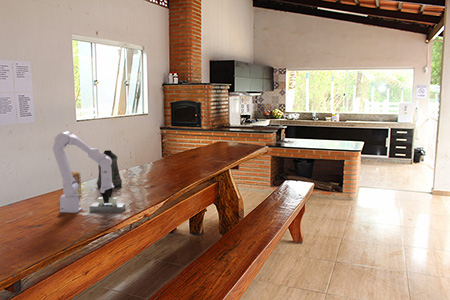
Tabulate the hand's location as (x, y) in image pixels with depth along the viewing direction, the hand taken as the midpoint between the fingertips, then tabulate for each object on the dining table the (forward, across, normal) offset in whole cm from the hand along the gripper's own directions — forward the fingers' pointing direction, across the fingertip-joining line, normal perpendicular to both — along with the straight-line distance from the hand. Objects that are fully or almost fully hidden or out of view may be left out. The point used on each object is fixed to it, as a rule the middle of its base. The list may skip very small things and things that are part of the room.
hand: (107, 202), depth 224 cm
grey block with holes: (+5, 0, 0) cm, 5 cm away
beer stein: (+5, +48, +16) cm, 51 cm away
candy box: (+5, +25, +31) cm, 40 cm away
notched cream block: (+4, 0, 0) cm, 4 cm away
